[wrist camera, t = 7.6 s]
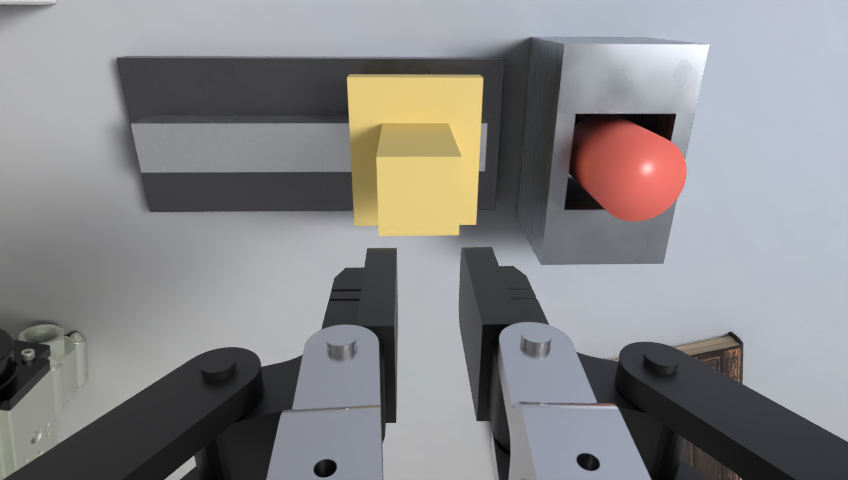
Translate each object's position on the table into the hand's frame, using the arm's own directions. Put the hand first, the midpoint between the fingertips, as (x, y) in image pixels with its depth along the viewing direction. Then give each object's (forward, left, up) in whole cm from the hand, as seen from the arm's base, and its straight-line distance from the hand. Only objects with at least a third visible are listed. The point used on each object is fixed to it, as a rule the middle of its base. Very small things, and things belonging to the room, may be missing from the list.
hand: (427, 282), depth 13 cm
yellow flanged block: (0, 0, -16) cm, 16 cm away
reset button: (0, +9, -14) cm, 16 cm away
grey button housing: (0, +9, -17) cm, 19 cm away
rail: (0, -5, -17) cm, 18 cm away
